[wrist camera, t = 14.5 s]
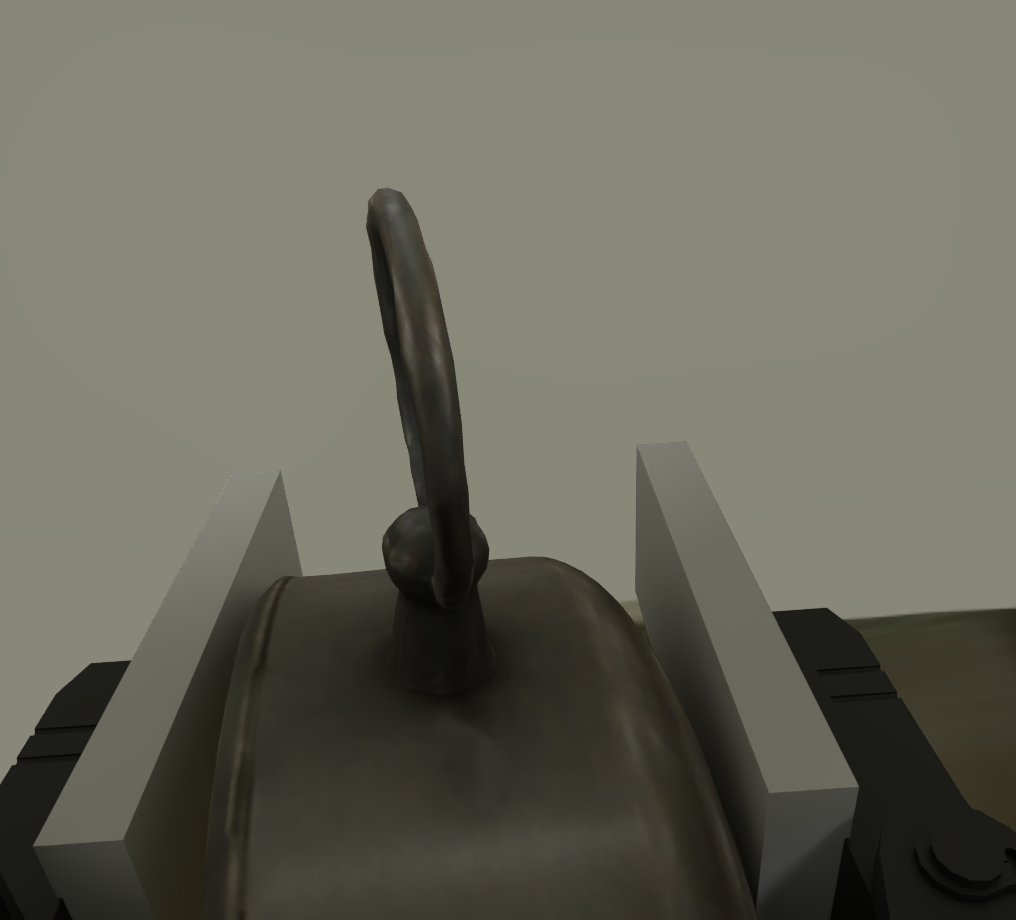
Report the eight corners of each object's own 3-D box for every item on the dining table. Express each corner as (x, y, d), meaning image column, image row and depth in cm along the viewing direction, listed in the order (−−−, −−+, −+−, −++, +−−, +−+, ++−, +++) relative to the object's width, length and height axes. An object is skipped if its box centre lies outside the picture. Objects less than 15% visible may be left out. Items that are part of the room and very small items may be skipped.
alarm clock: (351, 944, 18) (161, 135, 11) (599, 899, 19) (588, 101, 11) (343, 1994, 8) (-1947, 1347, 1) (854, 1832, 9) (2064, 613, 1)
